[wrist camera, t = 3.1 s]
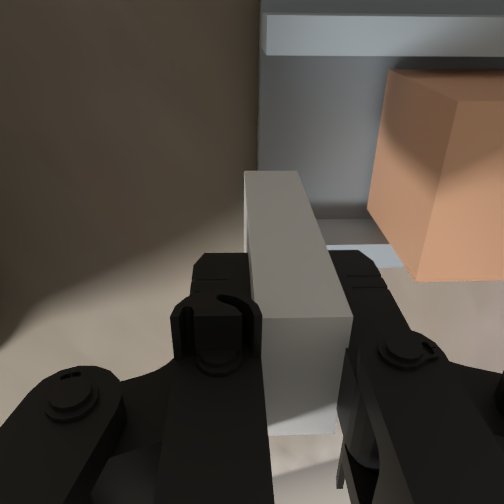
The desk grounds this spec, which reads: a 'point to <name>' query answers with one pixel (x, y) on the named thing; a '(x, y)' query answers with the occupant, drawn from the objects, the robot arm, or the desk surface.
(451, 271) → the block
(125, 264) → the desk surface
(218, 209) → the desk surface
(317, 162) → the chute
